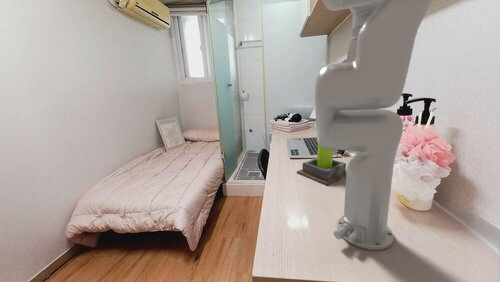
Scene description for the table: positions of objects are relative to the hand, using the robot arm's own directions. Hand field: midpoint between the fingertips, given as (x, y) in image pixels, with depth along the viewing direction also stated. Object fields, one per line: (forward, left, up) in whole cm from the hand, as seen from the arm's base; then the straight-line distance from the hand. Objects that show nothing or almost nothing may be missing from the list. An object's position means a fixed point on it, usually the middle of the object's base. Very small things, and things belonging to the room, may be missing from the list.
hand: (360, 84), depth 76 cm
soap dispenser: (-8, +9, -36) cm, 38 cm away
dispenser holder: (-8, +10, -36) cm, 38 cm away
